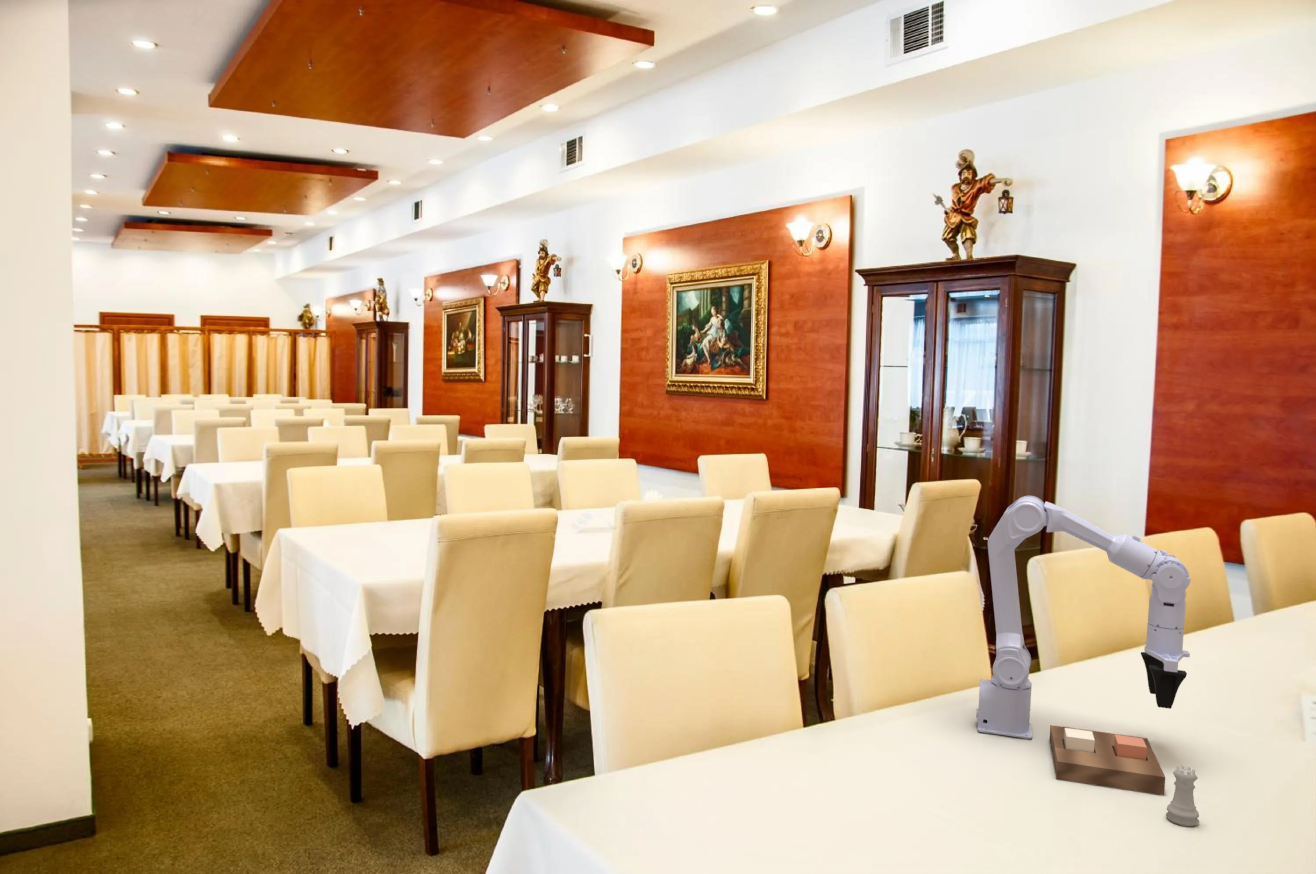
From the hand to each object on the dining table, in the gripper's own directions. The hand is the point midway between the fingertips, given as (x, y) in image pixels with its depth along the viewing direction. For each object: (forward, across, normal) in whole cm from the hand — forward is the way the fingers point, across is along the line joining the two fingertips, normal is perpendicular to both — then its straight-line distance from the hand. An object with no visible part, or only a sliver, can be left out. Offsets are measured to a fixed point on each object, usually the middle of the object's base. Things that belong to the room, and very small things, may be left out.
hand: (1160, 700), depth 170 cm
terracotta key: (+8, -10, +6) cm, 14 cm away
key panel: (+10, -10, +10) cm, 17 cm away
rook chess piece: (+10, -28, +1) cm, 30 cm away
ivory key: (+8, -10, +14) cm, 19 cm away
